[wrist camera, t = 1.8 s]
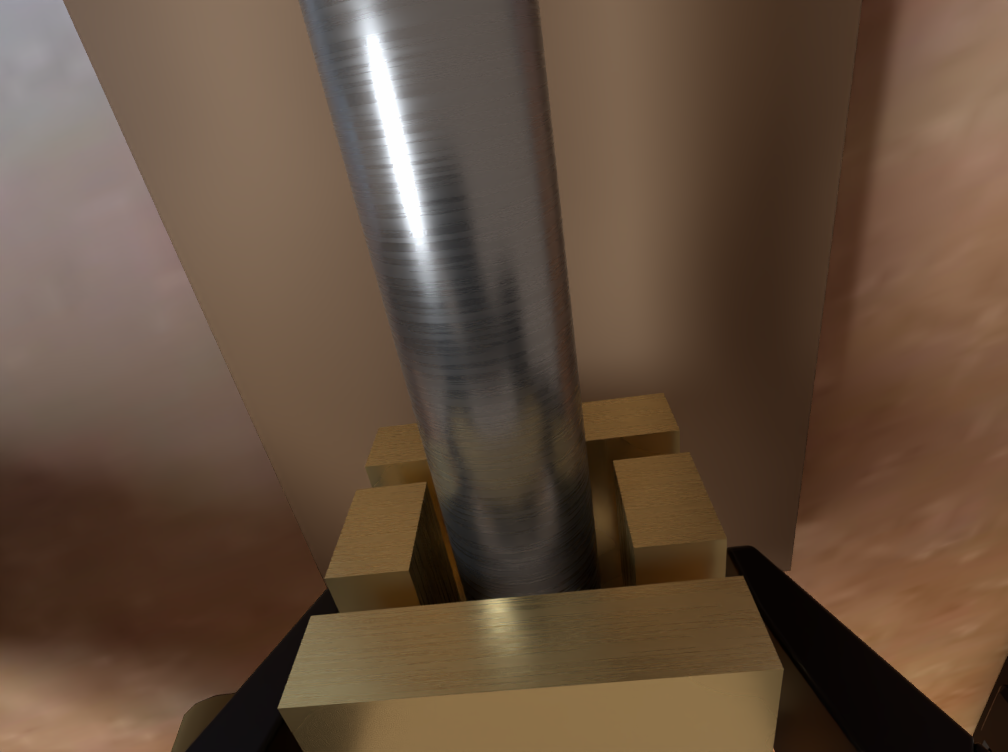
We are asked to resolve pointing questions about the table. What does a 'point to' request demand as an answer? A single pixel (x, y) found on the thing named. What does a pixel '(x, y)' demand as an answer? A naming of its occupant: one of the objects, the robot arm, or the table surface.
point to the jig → (585, 216)
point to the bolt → (470, 270)
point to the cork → (198, 720)
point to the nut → (539, 620)
